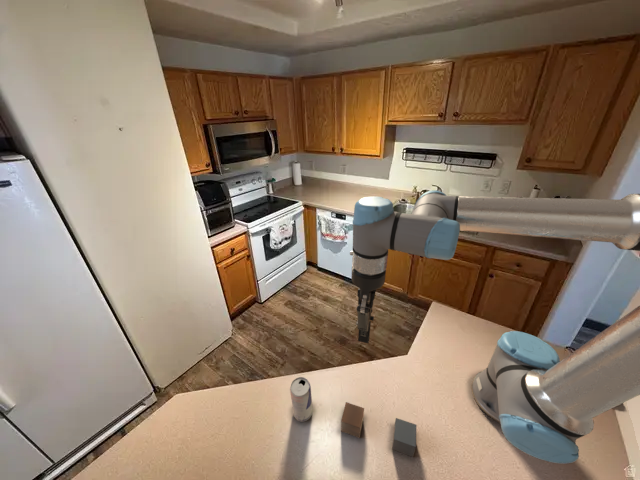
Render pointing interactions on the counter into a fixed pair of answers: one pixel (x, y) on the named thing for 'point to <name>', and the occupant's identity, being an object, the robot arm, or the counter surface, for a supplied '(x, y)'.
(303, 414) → the energy drink
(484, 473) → the counter surface
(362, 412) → the walnut block
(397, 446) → the grey block
